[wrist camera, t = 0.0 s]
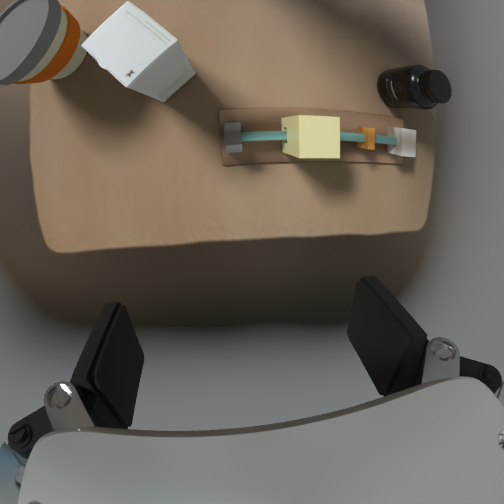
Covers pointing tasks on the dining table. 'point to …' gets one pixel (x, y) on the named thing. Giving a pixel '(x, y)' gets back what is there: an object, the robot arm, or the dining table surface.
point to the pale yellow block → (311, 136)
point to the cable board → (351, 123)
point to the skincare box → (140, 53)
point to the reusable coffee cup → (38, 42)
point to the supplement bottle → (413, 87)
